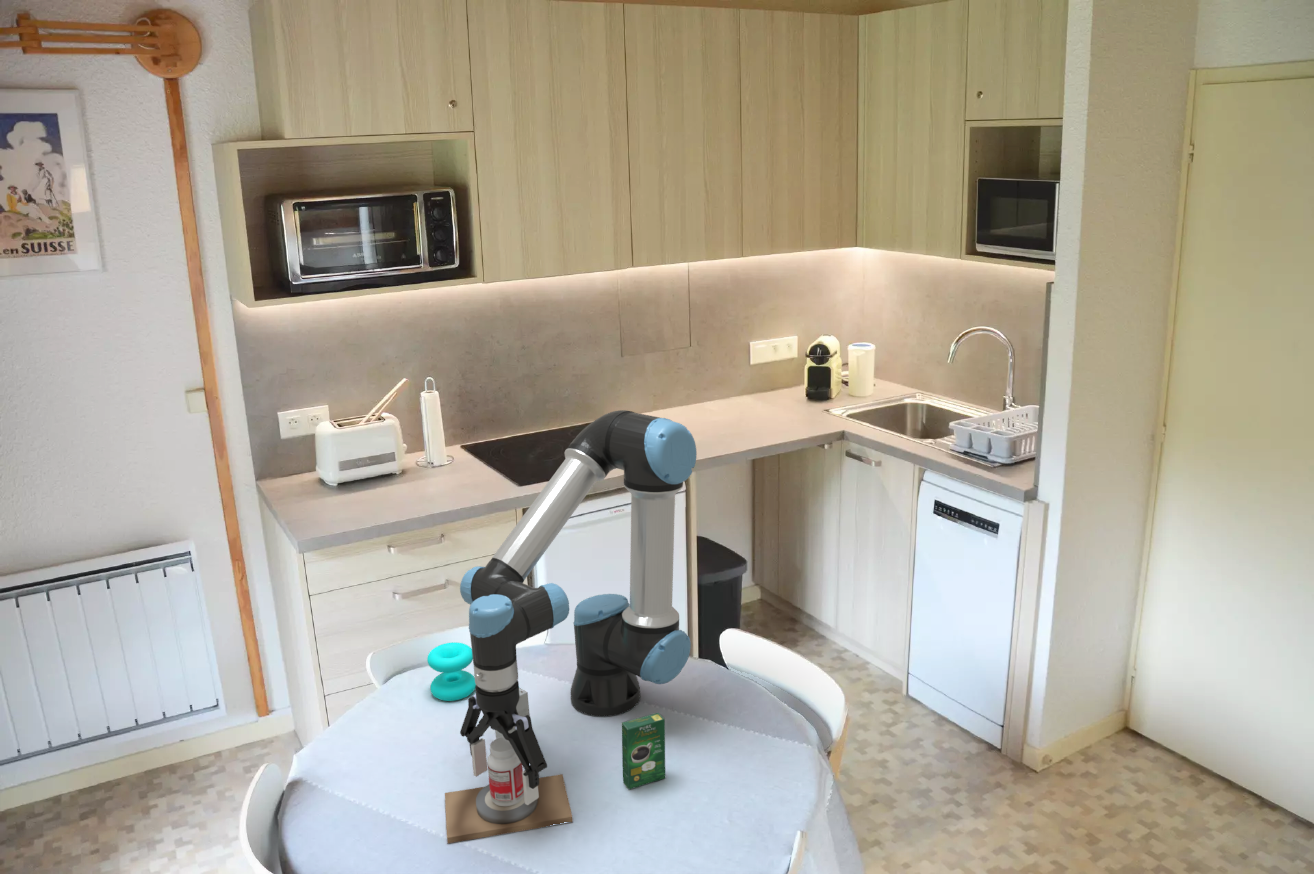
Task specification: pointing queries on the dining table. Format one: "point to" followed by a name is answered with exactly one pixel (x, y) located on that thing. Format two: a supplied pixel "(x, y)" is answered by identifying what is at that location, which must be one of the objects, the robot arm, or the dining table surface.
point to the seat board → (480, 828)
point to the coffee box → (643, 750)
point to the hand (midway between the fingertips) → (505, 786)
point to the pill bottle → (504, 774)
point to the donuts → (451, 671)
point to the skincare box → (519, 709)
